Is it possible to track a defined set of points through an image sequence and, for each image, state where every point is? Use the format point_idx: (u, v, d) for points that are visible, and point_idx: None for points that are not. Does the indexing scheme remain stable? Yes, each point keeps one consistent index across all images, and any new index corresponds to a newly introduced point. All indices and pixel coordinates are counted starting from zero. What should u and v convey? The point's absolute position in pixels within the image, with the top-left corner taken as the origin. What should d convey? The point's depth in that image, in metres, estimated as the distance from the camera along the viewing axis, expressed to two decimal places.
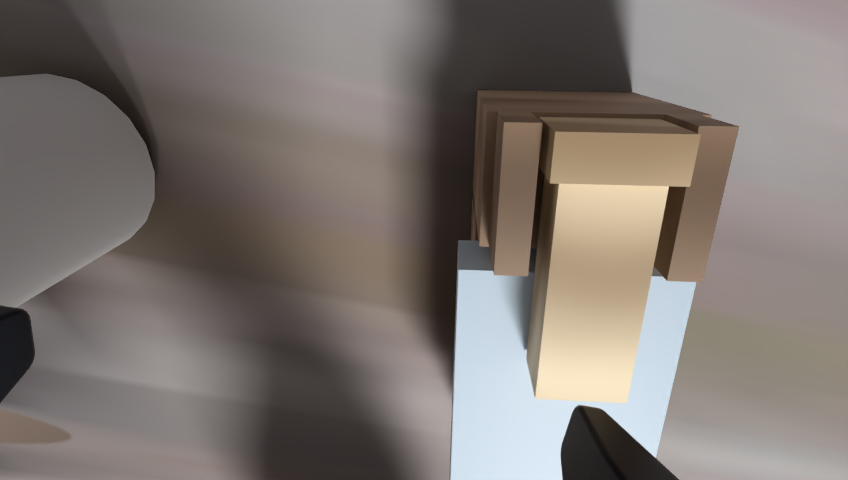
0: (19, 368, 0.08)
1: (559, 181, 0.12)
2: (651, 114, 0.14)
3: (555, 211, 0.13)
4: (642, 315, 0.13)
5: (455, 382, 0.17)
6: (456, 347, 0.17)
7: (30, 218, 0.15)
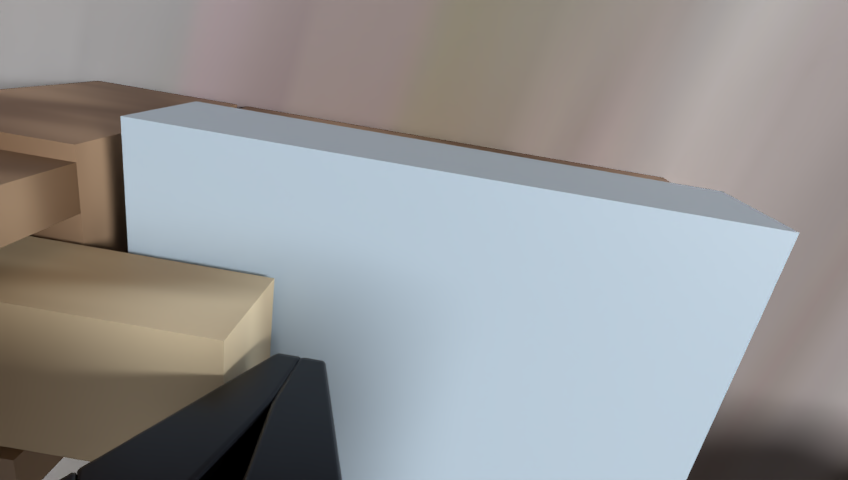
0: None
1: None
2: None
3: None
4: (15, 308, 0.07)
5: None
6: None
7: None
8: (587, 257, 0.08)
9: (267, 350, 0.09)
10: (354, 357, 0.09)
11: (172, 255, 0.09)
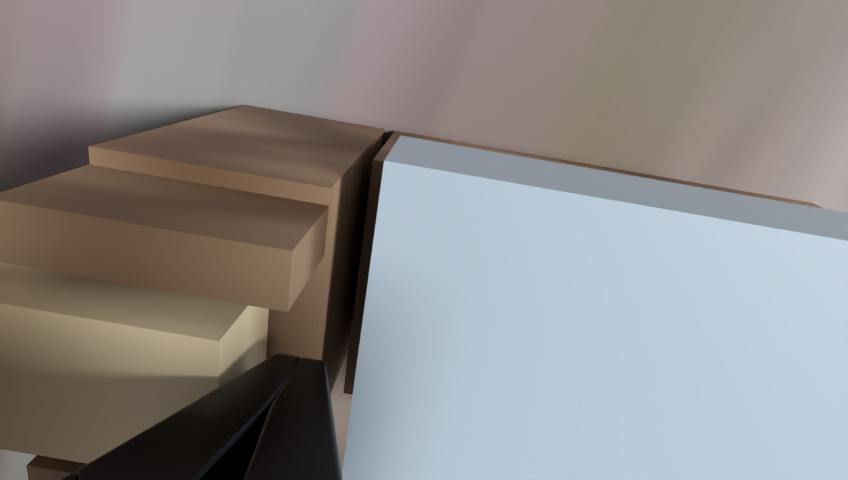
0: None
1: None
2: None
3: None
4: (7, 308, 0.07)
5: None
6: None
7: None
8: (842, 302, 0.08)
9: (263, 350, 0.09)
10: (581, 397, 0.09)
11: (411, 296, 0.09)
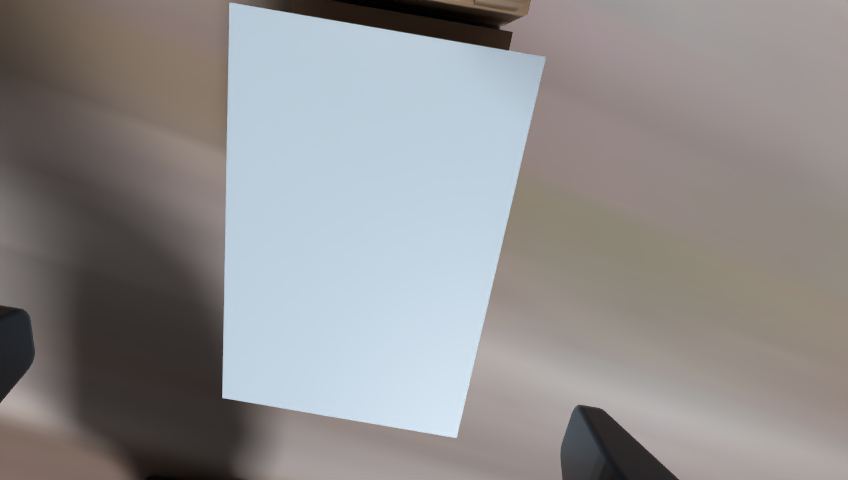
0: (19, 368, 0.08)
1: None
2: None
3: None
4: None
5: (227, 183, 0.13)
6: (228, 128, 0.12)
7: None
8: (440, 344, 0.14)
9: None
10: (359, 205, 0.13)
11: (439, 76, 0.12)
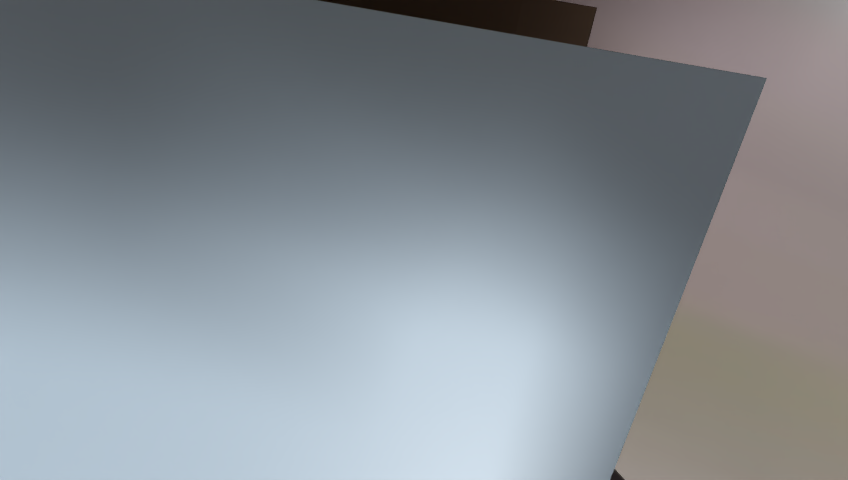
0: None
1: None
2: None
3: None
4: None
5: None
6: None
7: None
8: None
9: None
10: (198, 470, 0.05)
11: (401, 139, 0.04)
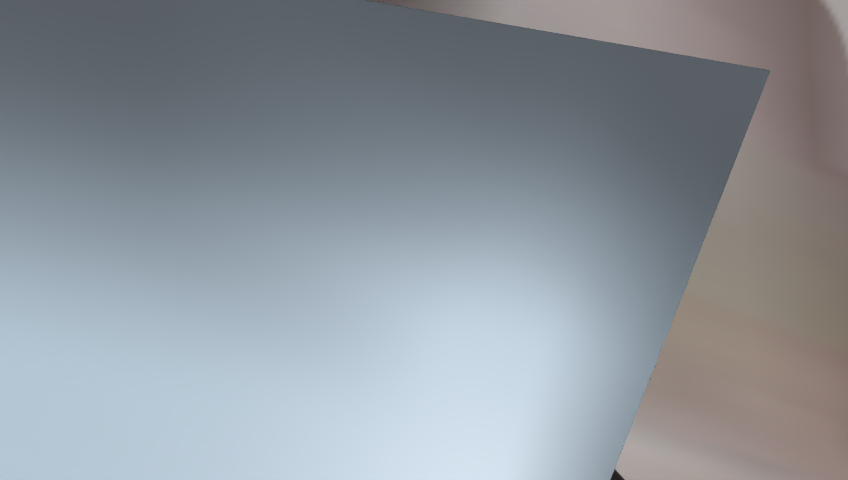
0: None
1: None
2: None
3: None
4: None
5: None
6: None
7: None
8: None
9: None
10: (198, 467, 0.05)
11: (401, 131, 0.04)
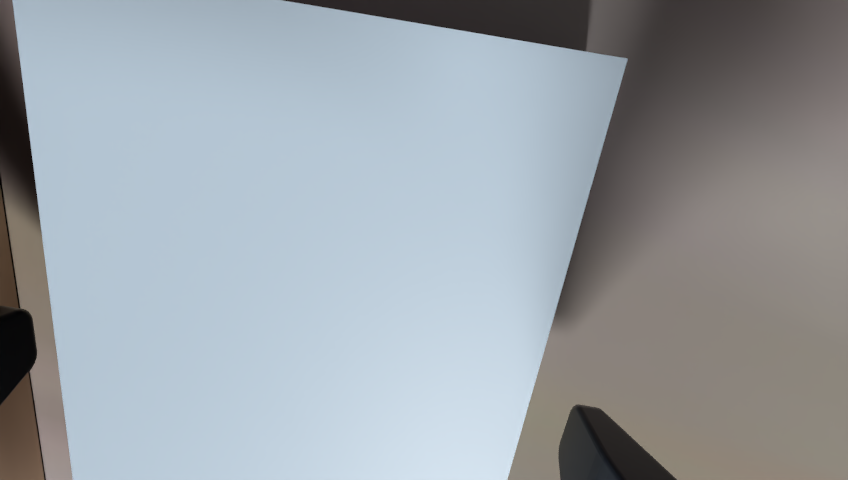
0: (21, 368, 0.08)
1: None
2: None
3: None
4: None
5: (50, 282, 0.07)
6: (39, 190, 0.07)
7: None
8: None
9: None
10: (283, 322, 0.07)
11: (418, 95, 0.06)
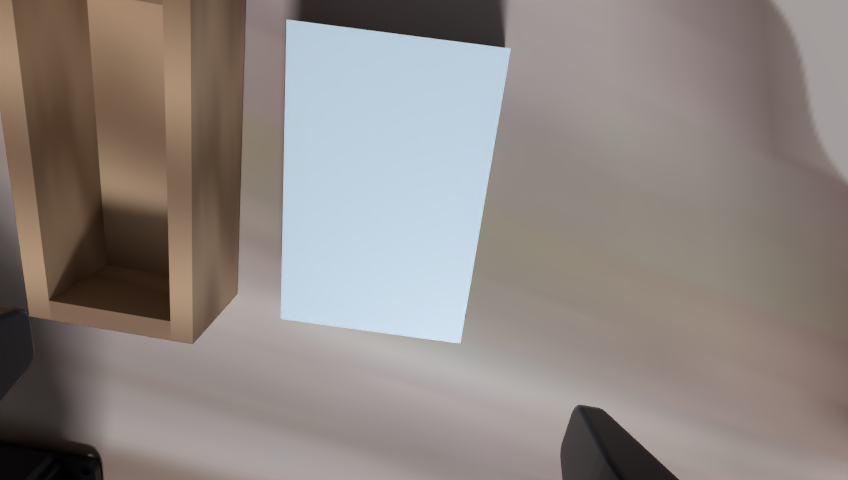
0: (19, 368, 0.08)
1: None
2: None
3: None
4: None
5: (285, 150, 0.18)
6: (285, 109, 0.17)
7: None
8: (444, 268, 0.19)
9: None
10: (381, 163, 0.18)
11: (435, 65, 0.16)
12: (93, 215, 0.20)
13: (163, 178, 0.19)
